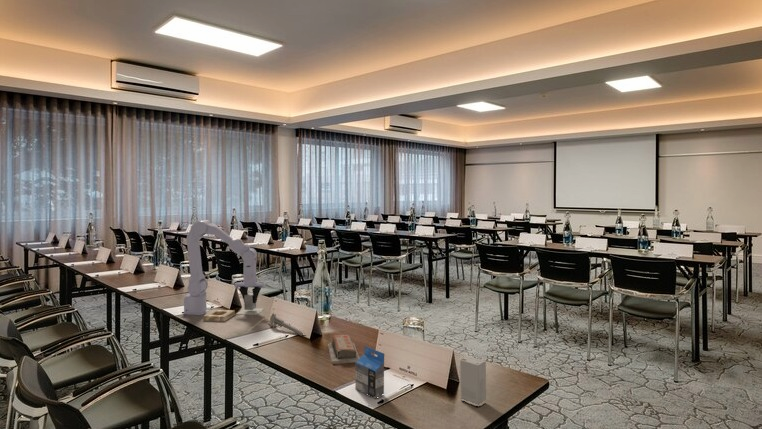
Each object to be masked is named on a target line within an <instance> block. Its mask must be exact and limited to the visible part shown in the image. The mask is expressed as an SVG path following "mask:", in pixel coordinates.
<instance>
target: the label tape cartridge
mask: <svg viewBox="0 0 762 429" xmlns="http://www.w3.org/2000/svg"><path fill="white" fill-rule="evenodd" d="M373 354H374V355H373ZM375 355H376V356H375ZM359 357H360V358H359V359H358V360H357V361H356V362H354V364H355V368H354V369H355V382H354V383H355V384H354V385H355V388H354V389H355V390H357V391H358V392H361V393H362V394H364V393H365V395H366V394H368V395H370V396H372V397H374V398H377V397H379V396H381V395H382V394H384V395H385V353H383V352H380V351H378V350H375V349H374V348H371V347H368V346H366V345H364V350H363V354H362V355H361V356H359ZM368 395H367V396H368ZM370 396H369V397H370ZM372 397H371V398H372ZM381 397H382V396H381ZM374 398H373V399H374ZM379 398H380V397H379ZM377 399H378V398H377Z"/></svg>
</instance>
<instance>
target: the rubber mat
mask: <svg viewBox="0 0 762 429" xmlns="http://www.w3.org/2000/svg"><path fill="white" fill-rule="evenodd" d="M264 310H265V308H261V307H260V308H257V307H256V308H255V309H254V310H245V307H243V309H241V310H240V311H238V312H235V315H250V316H256V315H259V314H260V313H261V312H263V311H264Z"/></svg>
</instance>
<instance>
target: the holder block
mask: <svg viewBox="0 0 762 429" xmlns="http://www.w3.org/2000/svg"><path fill="white" fill-rule="evenodd" d="M235 315H236V311H235V310H234V309H233V310H231V309H213V310H210V311H208V312H207V313H205V315H204V314H203V317H202V318H203V321H204V322H205V321H207V322H210V321H211V322H226V321H227V320H230V319H231V318H233V317H234V316H235Z"/></svg>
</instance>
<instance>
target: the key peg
mask: <svg viewBox="0 0 762 429" xmlns="http://www.w3.org/2000/svg"><path fill="white" fill-rule="evenodd" d="M243 303H244V304H243V305H244V308H245V310H254V309H255V308H257V302H256V303H254V302H253V292H247V294H245V295H244V300H243Z"/></svg>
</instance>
